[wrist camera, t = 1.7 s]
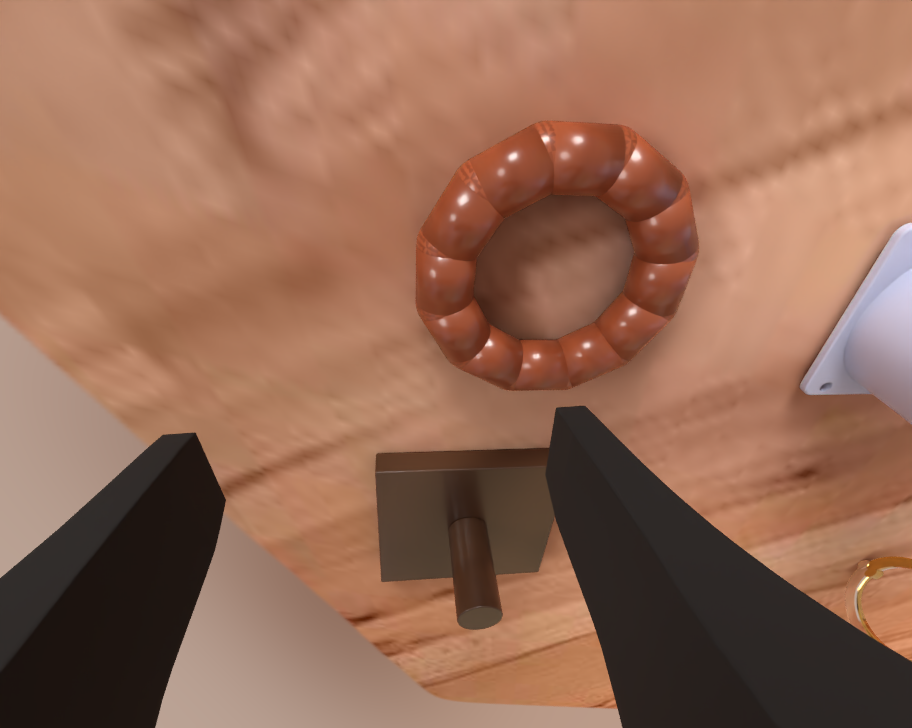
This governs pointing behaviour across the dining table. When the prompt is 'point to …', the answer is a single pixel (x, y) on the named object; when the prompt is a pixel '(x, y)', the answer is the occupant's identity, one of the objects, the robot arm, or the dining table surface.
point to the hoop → (523, 183)
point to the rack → (463, 521)
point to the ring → (858, 583)
